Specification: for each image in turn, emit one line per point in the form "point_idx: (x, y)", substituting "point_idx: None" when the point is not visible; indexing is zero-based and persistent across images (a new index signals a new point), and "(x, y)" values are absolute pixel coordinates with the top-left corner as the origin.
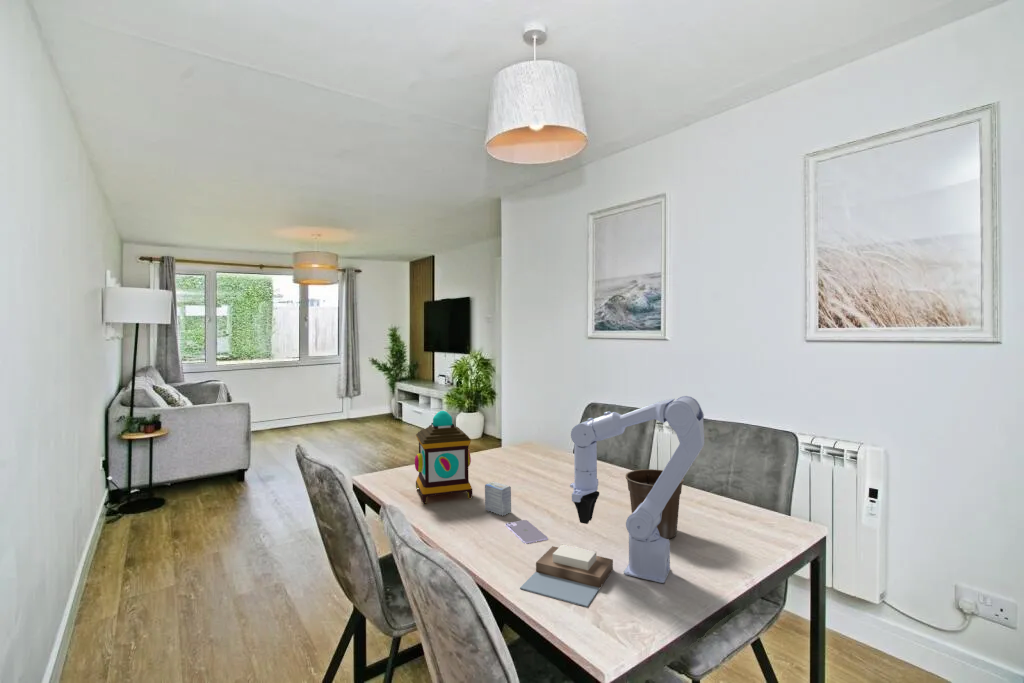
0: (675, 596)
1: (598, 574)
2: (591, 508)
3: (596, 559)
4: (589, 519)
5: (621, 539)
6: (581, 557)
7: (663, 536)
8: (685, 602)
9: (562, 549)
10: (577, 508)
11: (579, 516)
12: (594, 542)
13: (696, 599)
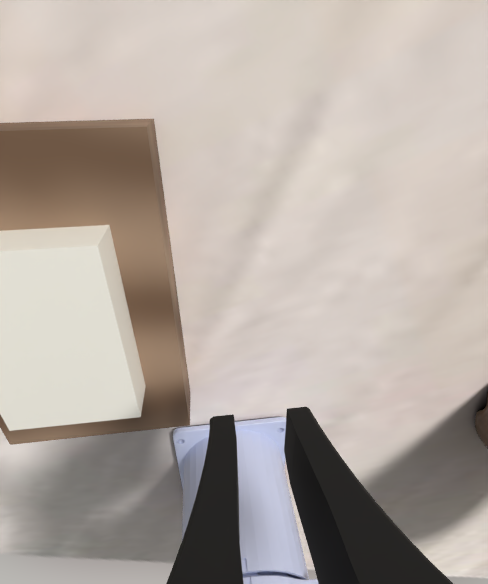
0: (143, 525)
1: (29, 433)
2: (317, 566)
3: (148, 385)
4: (285, 454)
5: (464, 333)
6: (24, 396)
7: (484, 443)
8: (130, 541)
9: (28, 280)
10: (174, 571)
11: (206, 468)
12: (408, 254)
13: (160, 547)
